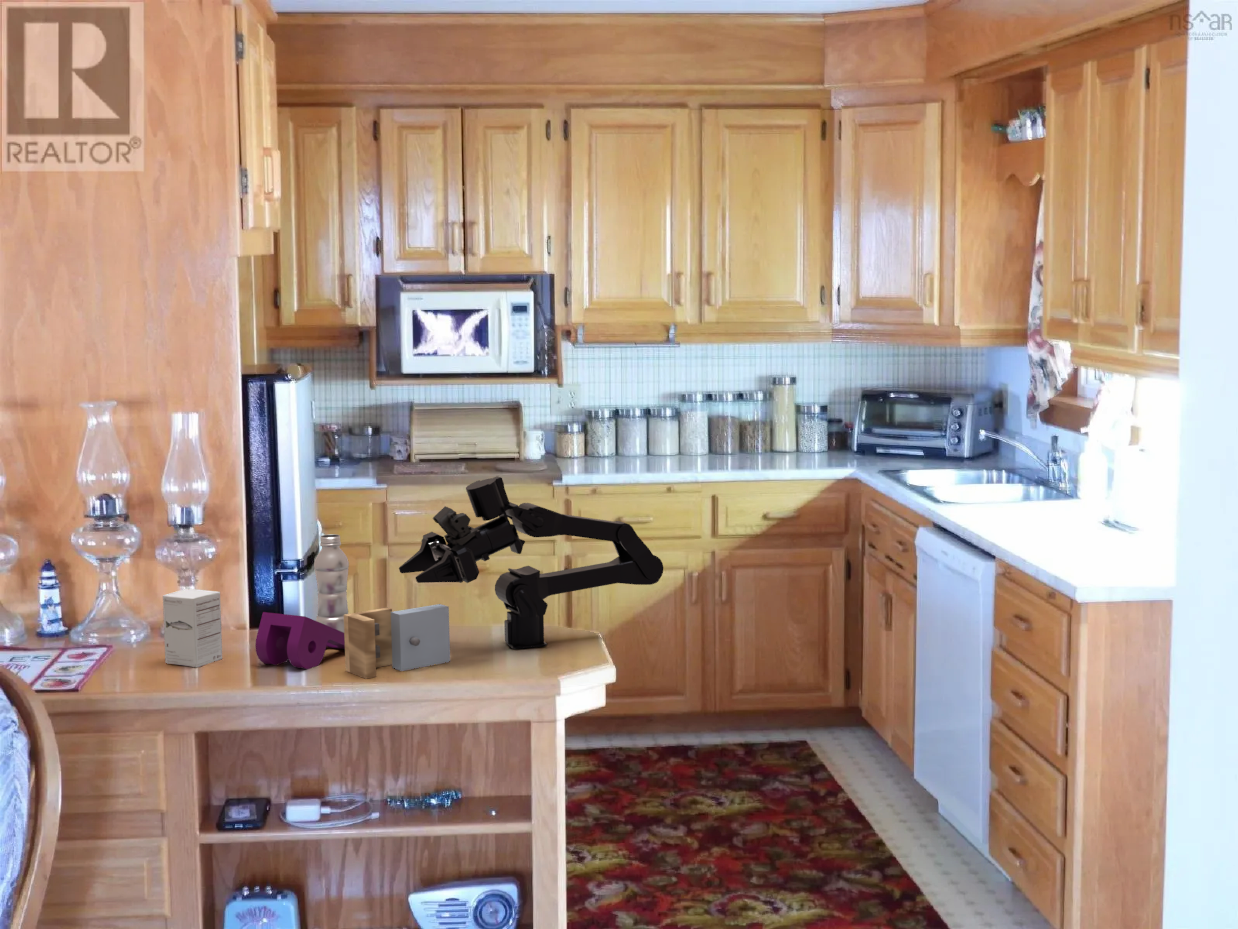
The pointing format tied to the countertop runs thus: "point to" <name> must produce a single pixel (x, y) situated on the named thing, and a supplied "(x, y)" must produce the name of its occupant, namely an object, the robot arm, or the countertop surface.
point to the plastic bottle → (331, 582)
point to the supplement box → (192, 627)
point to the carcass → (367, 641)
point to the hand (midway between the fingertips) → (407, 575)
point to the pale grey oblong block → (420, 637)
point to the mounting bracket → (295, 640)
